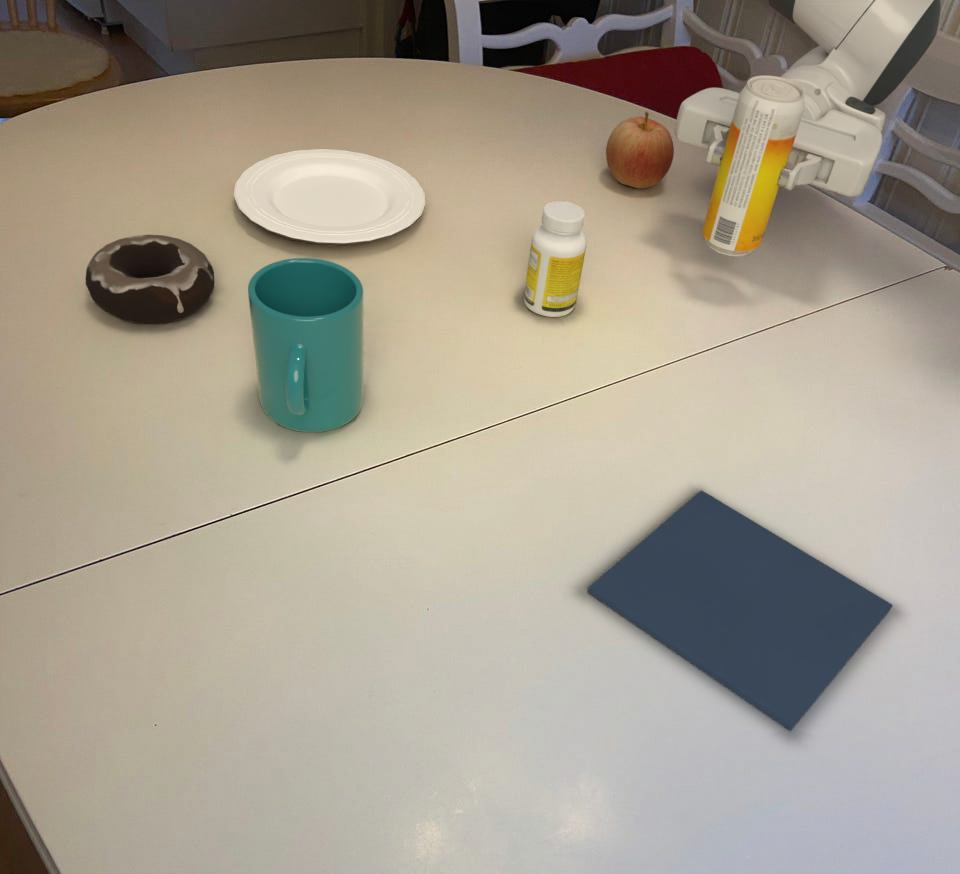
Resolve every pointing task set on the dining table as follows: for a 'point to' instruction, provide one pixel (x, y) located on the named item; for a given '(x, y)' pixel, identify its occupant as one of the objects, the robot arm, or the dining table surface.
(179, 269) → the donut
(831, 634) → the can mat
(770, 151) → the beer can
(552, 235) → the supplement bottle
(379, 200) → the plate
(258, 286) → the cup
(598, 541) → the dining table surface
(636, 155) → the apple
